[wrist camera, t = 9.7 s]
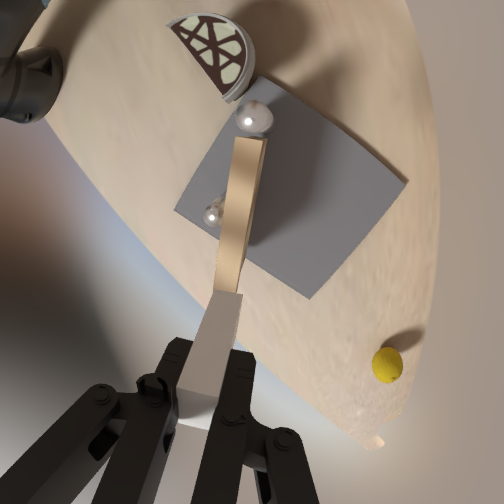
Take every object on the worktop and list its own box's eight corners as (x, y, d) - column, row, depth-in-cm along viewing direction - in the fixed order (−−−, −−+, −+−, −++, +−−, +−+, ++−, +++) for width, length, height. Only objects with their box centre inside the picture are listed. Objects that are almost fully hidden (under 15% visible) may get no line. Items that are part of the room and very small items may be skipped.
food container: (281, 85, 32) (278, 68, 23) (241, 109, 34) (224, 101, 25) (229, 20, 28) (210, -10, 19) (192, 44, 30) (163, 22, 21)
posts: (219, 199, 39) (189, 230, 27) (258, 107, 33) (243, 94, 22) (239, 208, 39) (217, 243, 27) (280, 116, 34) (275, 107, 22)
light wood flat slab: (250, 135, 33) (235, 136, 23) (270, 138, 33) (262, 141, 23) (230, 253, 39) (212, 292, 30) (247, 256, 39) (234, 297, 30)
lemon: (362, 351, 47) (370, 383, 40) (386, 333, 45) (398, 365, 38) (378, 364, 48) (387, 395, 41) (401, 347, 46) (412, 378, 38)
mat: (176, 208, 40) (173, 210, 39) (260, 76, 32) (259, 74, 31) (309, 296, 43) (309, 299, 43) (403, 184, 35) (405, 185, 34)
